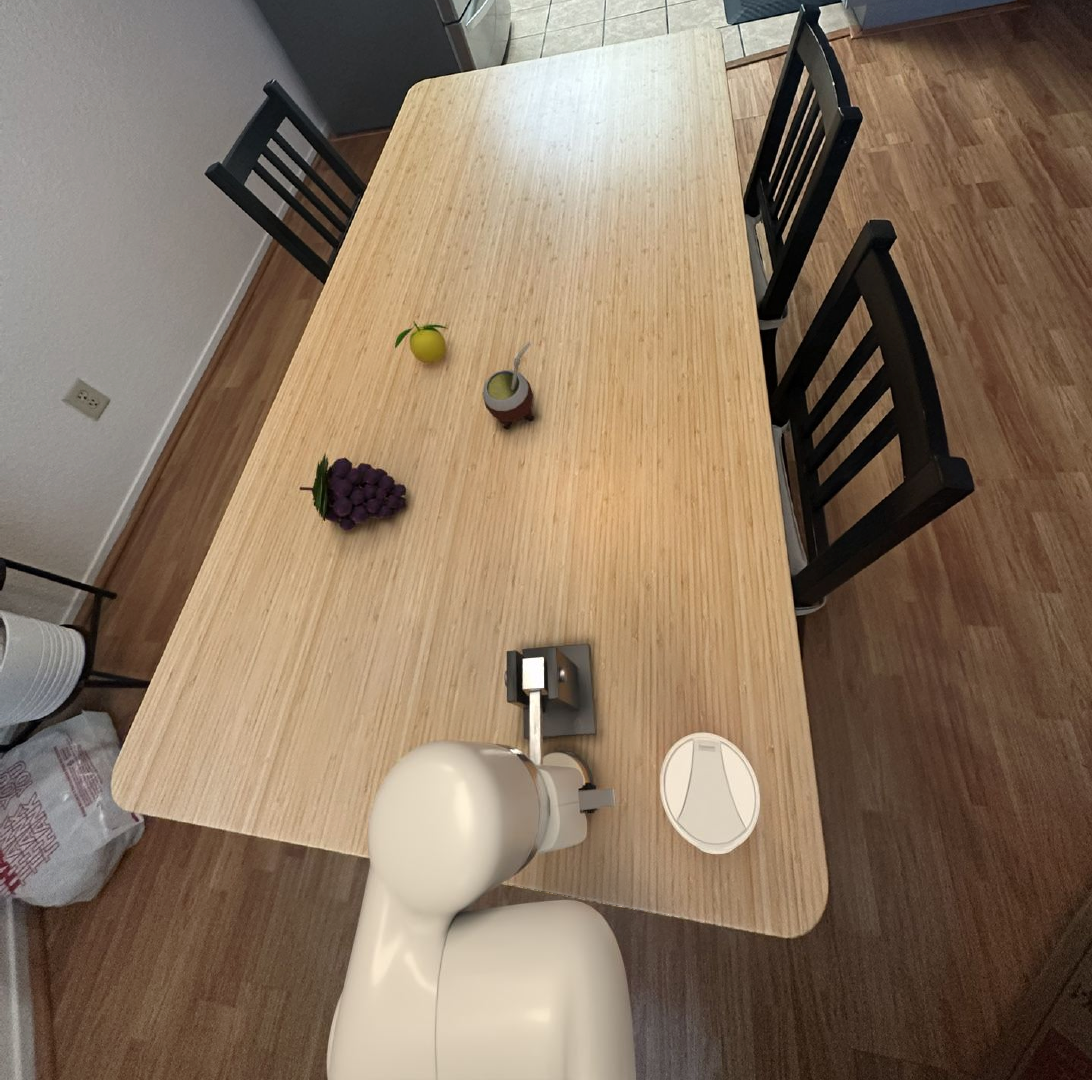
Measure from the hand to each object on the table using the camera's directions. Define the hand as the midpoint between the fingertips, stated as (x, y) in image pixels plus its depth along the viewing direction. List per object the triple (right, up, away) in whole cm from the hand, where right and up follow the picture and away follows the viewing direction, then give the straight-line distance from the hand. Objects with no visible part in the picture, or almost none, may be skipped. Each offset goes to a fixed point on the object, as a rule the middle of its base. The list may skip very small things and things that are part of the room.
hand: (542, 797), depth 56 cm
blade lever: (0, +5, +2) cm, 5 cm away
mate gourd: (-4, +32, +37) cm, 49 cm away
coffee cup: (+17, -4, +7) cm, 19 cm away
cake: (+2, -6, +10) cm, 11 cm away
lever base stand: (+2, +2, +15) cm, 15 cm away
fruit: (-26, +18, +33) cm, 46 cm away
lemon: (-18, +39, +46) cm, 63 cm away
